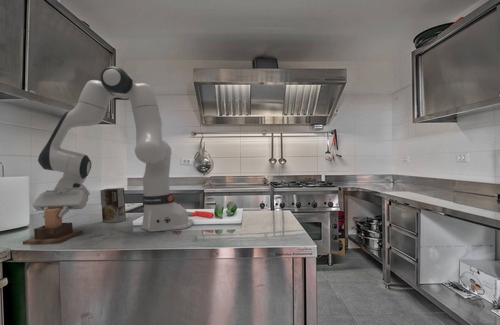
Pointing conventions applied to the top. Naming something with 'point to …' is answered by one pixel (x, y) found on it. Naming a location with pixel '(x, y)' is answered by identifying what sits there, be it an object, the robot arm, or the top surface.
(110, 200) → the coffee box
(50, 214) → the block
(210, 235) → the top surface
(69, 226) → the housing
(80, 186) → the robot arm
